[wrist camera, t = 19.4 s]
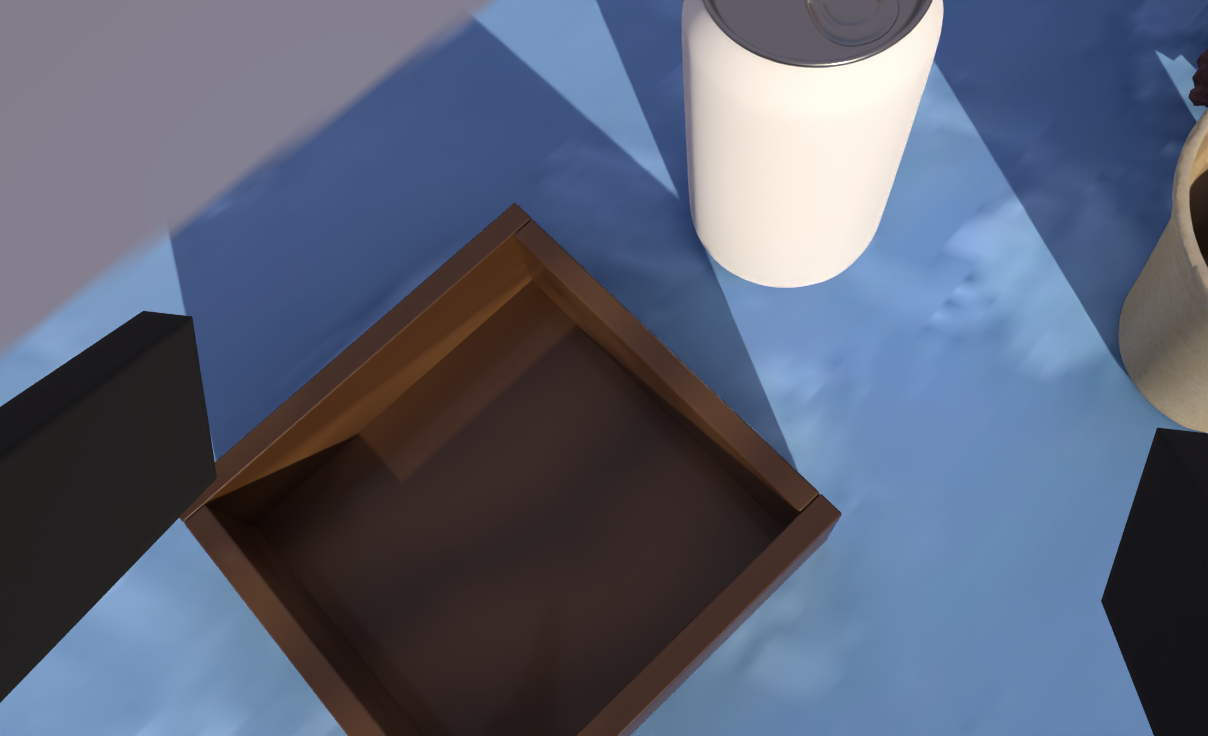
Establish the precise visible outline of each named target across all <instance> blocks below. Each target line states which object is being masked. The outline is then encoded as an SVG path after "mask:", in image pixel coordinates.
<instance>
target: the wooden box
mask: <svg viewBox="0 0 1208 736" xmlns="http://www.w3.org/2000/svg"><path fill="white" fill-rule="evenodd" d="M215 468H216V475H217V479H216V480H215V481H214V482H213V483H212V484H211V485H210V486H209V487H208V488H207V489H206V490H205V491H204V492H203V493H202V494H201V495H200V496H199V497H198V498H197V499H196V501H195V502H194V503H193V504H192V505H191V506H190V507H189V508H188V509H187V510H186V511H185V512H184V513H183V514H182V515H181V516H180V517H179V518H180V519H181V520H182V521H183V522H185V525H186V527H187V528H188V529H189V530H190V532H191V533H192V534H193V536H194V537H195V538H196V540H197V541H198V542H199V543H200V545H201V546H202V547H203V549H204V550H205V551H206V552H207V554H208V555H209V556H210V558H211V559H212V560H213V562H214V563H215V564H216V565H217V567H218V568H219V569H220V571H221V572H222V573H223V575H224V576H225V577H226V578H227V580H228V581H229V582H230V584H231V585H232V586H233V587H234V589H235V590H236V591H237V593H238V594H239V595H240V597H241V598H242V599H243V600H244V602H245V603H246V604H247V606H248V607H249V608H250V610H251V611H252V612H253V613H254V615H255V616H256V617H257V619H258V620H259V621H260V622H261V624H262V625H263V626H264V628H265V629H266V630H267V632H268V633H269V634H270V635H271V637H272V638H273V639H274V641H275V642H276V643H277V645H278V646H279V647H280V648H281V650H282V651H283V652H284V654H285V655H286V656H287V657H288V659H289V660H290V661H291V663H292V664H293V665H294V667H295V668H296V669H297V670H298V672H299V673H300V674H301V676H302V677H303V678H304V680H305V681H306V682H307V683H308V685H309V686H310V687H311V689H312V690H313V691H314V693H315V694H316V695H317V696H318V698H319V699H320V700H321V702H322V703H323V704H324V705H325V707H326V708H327V709H328V711H329V712H330V713H331V715H332V716H333V717H334V718H335V720H336V721H337V722H338V724H339V725H340V726H341V728H342V729H343V730H344V731H345V733H346V734H347V735H348V736H630V735H631V734H632V733H633V732H634V731H635V730H636V729H637V728H638V727H639V726H640V725H641V724H642V723H643V722H644V721H645V720H646V719H647V718H648V717H649V716H650V715H651V714H652V713H653V712H654V711H655V710H656V709H657V708H658V707H659V706H660V705H661V704H662V703H663V702H664V701H665V700H666V699H667V698H668V697H669V696H670V695H671V694H672V693H673V692H674V691H675V690H676V689H677V688H678V687H679V686H680V685H681V684H682V683H683V682H684V681H685V680H686V679H687V678H688V677H689V676H690V675H691V674H692V673H693V672H694V671H695V670H696V669H697V668H698V667H699V666H700V665H701V664H702V663H703V662H704V661H705V660H706V659H707V658H708V657H709V656H710V655H711V654H712V653H713V652H714V651H715V650H716V649H717V648H718V647H719V646H720V645H721V644H722V643H723V642H724V641H725V640H726V639H727V638H728V637H729V636H730V635H731V634H732V633H733V632H734V631H735V630H736V629H737V628H738V627H739V626H740V625H741V624H742V623H743V622H744V621H746V620H747V619H748V618H749V617H750V616H751V615H752V614H753V613H754V612H755V611H756V610H757V609H758V608H759V607H760V606H761V605H762V604H763V603H764V602H765V601H766V600H767V599H768V598H769V597H770V596H771V595H772V594H773V593H774V592H775V591H776V590H777V589H778V588H779V587H780V586H781V585H782V584H783V583H784V582H785V581H786V580H787V579H788V578H789V577H790V576H791V575H792V574H793V573H794V572H795V571H796V570H797V569H798V568H799V567H800V566H801V565H802V564H803V563H804V562H805V561H806V560H807V559H808V558H809V557H810V556H811V555H812V554H813V553H814V552H815V551H816V550H817V549H818V548H819V547H820V546H821V545H822V544H823V543H824V542H825V541H826V540H827V538H828V536H829V535H830V533H831V531H832V530H833V528H834V526H835V525H836V523H837V521H838V520H839V518H840V516H841V512H840V511H839V510H838V509H837V508H836V507H835V506H834V505H832V504H831V503H830V502H829V501H828V500H827V499H826V498H825V497H824V496H823V495H822V494H820V495H819V492H818V491H817V490H816V489H815V488H814V487H813V486H812V485H811V484H810V483H809V482H808V481H807V480H806V479H805V478H804V477H803V476H802V475H801V474H800V473H799V472H797V471H796V470H795V469H794V468H793V467H792V466H791V465H790V464H789V463H788V462H787V461H786V460H785V459H784V458H783V457H782V456H781V455H780V454H779V453H778V452H776V451H775V450H774V449H773V448H772V447H771V446H770V445H769V444H768V443H767V442H766V441H765V440H764V439H763V438H762V437H761V436H760V435H759V434H758V433H757V432H755V431H754V430H753V429H752V428H751V427H750V426H749V425H748V424H747V423H746V422H745V421H744V420H743V419H742V418H741V417H740V416H739V415H738V414H737V413H736V412H734V411H733V410H732V409H731V408H730V407H729V406H728V405H727V404H726V403H725V402H724V401H723V400H722V399H721V398H720V397H719V396H718V395H717V394H716V393H715V392H713V391H712V390H711V389H710V388H709V387H708V386H707V385H706V384H705V383H704V382H703V381H702V380H701V379H700V378H699V377H698V376H697V375H696V374H695V373H694V372H692V371H691V370H690V369H689V368H688V367H687V366H686V365H685V364H684V363H683V362H682V361H681V360H680V359H679V358H678V357H677V356H676V355H675V354H674V353H673V352H672V351H670V350H669V349H668V348H667V347H666V346H665V345H664V344H663V343H662V342H661V341H660V340H659V339H658V338H657V337H656V336H655V335H654V334H653V333H652V332H651V331H649V330H648V329H647V328H646V327H645V326H644V325H643V324H642V323H641V322H640V321H639V320H638V319H637V318H636V317H635V316H634V315H633V314H632V313H631V312H630V311H628V310H627V309H626V308H625V307H624V306H623V305H622V304H621V303H620V302H619V301H618V300H617V299H616V298H615V297H614V296H613V295H612V294H611V293H610V292H609V291H607V290H606V289H605V288H604V287H603V286H602V285H601V284H600V283H599V282H598V281H597V280H596V279H595V278H594V277H593V276H592V275H591V274H590V273H589V272H588V271H586V270H585V269H584V268H583V267H582V266H581V265H580V264H579V263H578V262H577V261H576V260H575V259H574V258H573V257H572V256H571V255H570V254H569V253H568V252H567V251H565V250H564V249H563V248H562V247H561V246H560V245H559V244H558V243H557V242H556V241H555V240H554V239H553V238H552V237H551V236H550V235H549V234H548V233H547V232H546V231H544V230H543V229H542V228H541V227H540V226H539V225H538V224H537V223H536V222H535V221H534V220H532V219H531V217H530V216H529V215H528V214H527V213H526V212H525V211H524V210H523V209H522V208H521V207H520V206H519V205H517V204H516V203H514V204H513V205H512V206H510V207H509V208H508V209H507V210H506V211H505V212H503V213H502V214H501V215H500V216H499V217H498V218H497V219H495V220H494V221H493V222H492V223H491V224H490V225H488V226H487V227H486V228H485V229H484V230H483V231H482V232H480V233H479V234H478V235H477V236H476V237H475V238H473V239H472V240H471V241H470V242H469V243H468V244H467V245H465V246H464V247H463V248H462V249H461V250H460V251H458V252H457V253H456V254H455V255H454V256H453V257H452V258H450V259H449V260H448V261H447V262H446V263H445V264H443V265H442V266H441V267H440V268H439V269H438V270H437V271H435V272H434V273H433V274H432V275H431V276H430V277H428V278H427V279H426V280H425V281H424V282H423V283H422V284H420V285H419V286H418V287H417V288H416V289H415V290H413V291H412V292H411V293H410V294H409V295H408V296H406V297H405V298H404V299H403V300H402V301H401V302H400V303H398V304H397V305H396V306H395V307H394V308H393V309H391V310H390V311H389V312H388V313H387V314H386V315H385V316H383V317H382V318H381V319H380V320H379V321H378V322H376V323H375V324H374V325H373V326H372V327H371V328H370V329H368V330H367V331H366V332H365V333H364V334H363V335H361V336H360V337H359V338H358V339H357V340H356V341H355V342H353V343H352V344H351V345H350V346H349V347H348V348H346V349H345V350H344V351H343V352H342V353H341V354H340V355H338V356H337V357H336V358H335V359H334V360H333V361H331V362H330V363H329V364H328V365H327V366H326V367H325V368H323V369H322V370H321V371H320V372H319V373H318V374H316V375H315V376H314V377H313V378H312V379H311V380H310V381H308V382H307V383H306V384H305V385H304V386H303V387H301V388H300V389H299V390H298V391H297V392H296V393H295V394H293V395H292V396H291V397H290V398H289V399H288V400H286V401H285V402H284V403H283V404H282V405H281V406H280V407H278V408H277V409H276V410H275V411H274V412H273V413H271V414H270V415H269V416H268V417H267V418H266V419H265V420H263V421H262V422H261V423H260V424H259V425H258V426H256V427H255V428H254V429H253V430H252V431H251V432H249V433H248V434H247V435H246V436H245V437H244V438H243V439H241V440H240V441H239V442H238V443H237V444H236V445H234V446H233V447H232V448H231V449H230V450H229V451H228V452H226V453H225V454H224V455H223V456H222V457H221V458H219V459H218V460H217V461H216V462H215Z"/></svg>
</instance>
